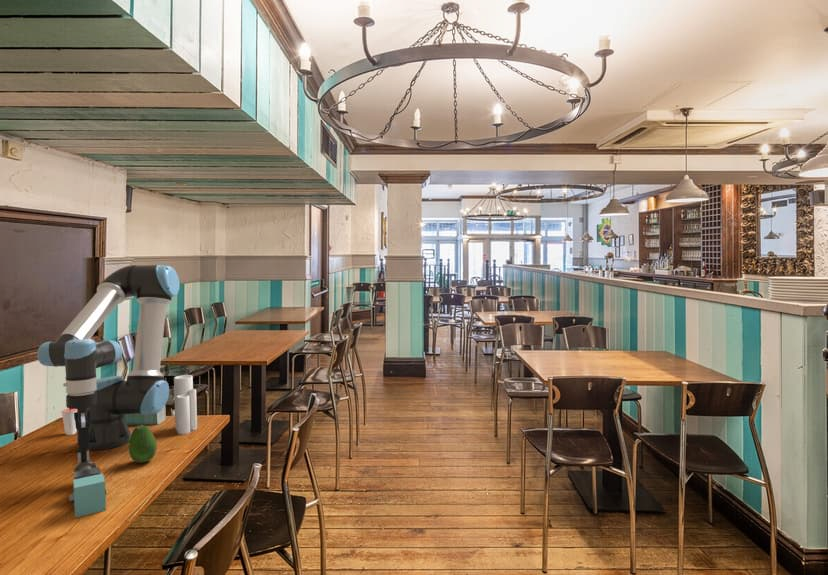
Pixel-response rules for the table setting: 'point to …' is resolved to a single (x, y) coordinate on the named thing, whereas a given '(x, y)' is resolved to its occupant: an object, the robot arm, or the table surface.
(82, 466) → the plunger
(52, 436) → the table surface
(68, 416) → the cup
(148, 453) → the fruit
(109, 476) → the table surface
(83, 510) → the socket
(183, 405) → the vase
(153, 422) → the box
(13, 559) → the table surface
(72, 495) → the guide
